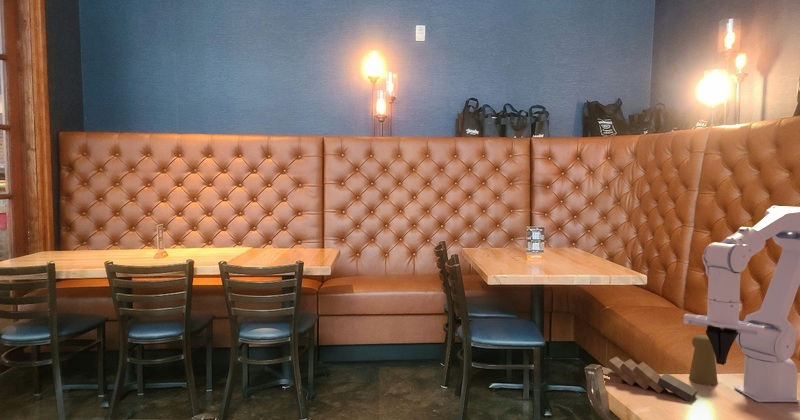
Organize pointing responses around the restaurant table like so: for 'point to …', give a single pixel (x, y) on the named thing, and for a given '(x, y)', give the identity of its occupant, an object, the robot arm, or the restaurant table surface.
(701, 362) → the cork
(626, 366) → the tile
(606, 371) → the tile
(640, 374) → the tile
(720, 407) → the restaurant table surface
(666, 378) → the tile
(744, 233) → the robot arm
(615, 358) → the tile
